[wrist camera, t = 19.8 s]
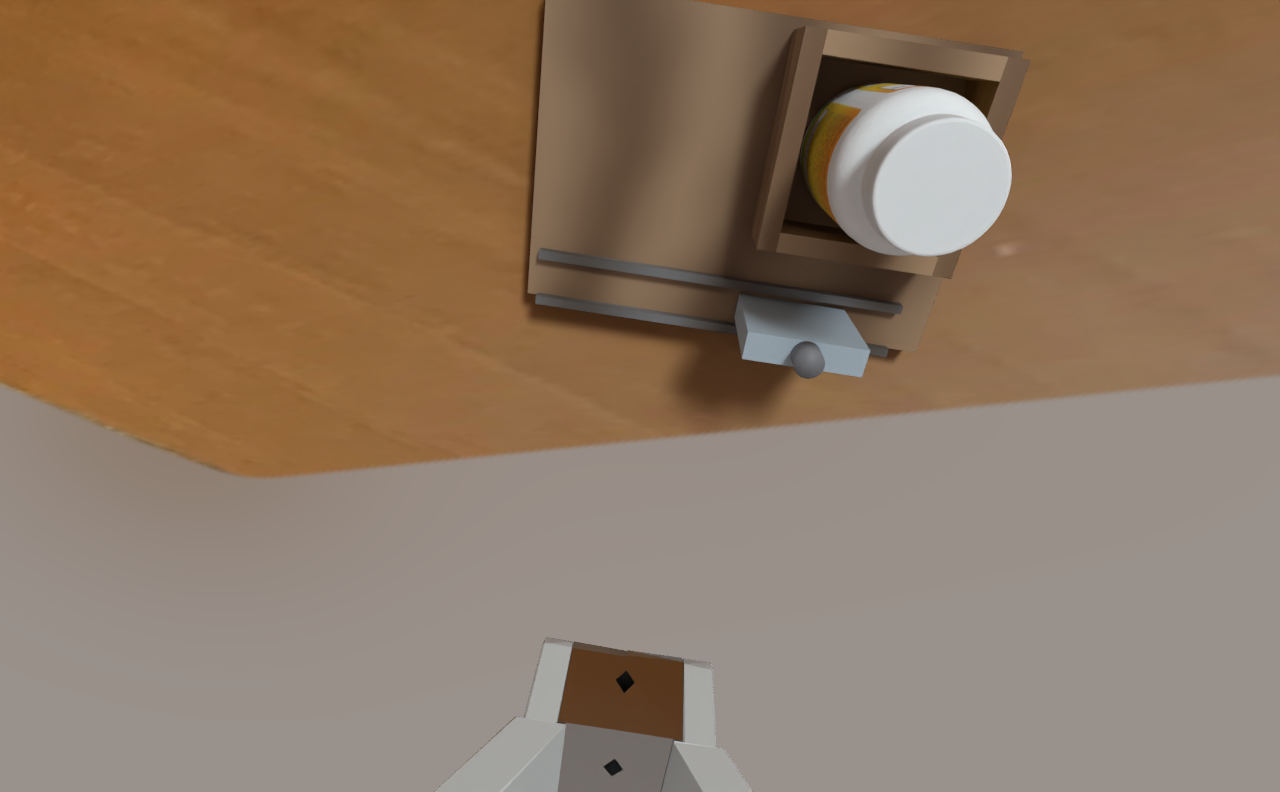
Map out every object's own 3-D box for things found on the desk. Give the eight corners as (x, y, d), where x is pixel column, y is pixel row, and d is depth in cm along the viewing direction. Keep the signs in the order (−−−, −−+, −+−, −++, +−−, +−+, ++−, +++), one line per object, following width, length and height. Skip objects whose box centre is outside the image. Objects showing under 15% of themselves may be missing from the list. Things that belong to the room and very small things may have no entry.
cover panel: (734, 317, 31) (743, 368, 26) (739, 293, 31) (750, 341, 26) (837, 333, 31) (867, 387, 26) (844, 309, 31) (877, 360, 26)
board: (532, 291, 33) (512, 320, 29) (552, -19, 27) (530, -33, 23) (906, 348, 33) (934, 384, 29) (1010, 52, 27) (1062, 50, 23)
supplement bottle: (829, 239, 30) (888, 311, 21) (776, 128, 28) (816, 157, 19) (947, 175, 28) (1063, 224, 19) (900, 54, 26) (1005, 48, 17)
